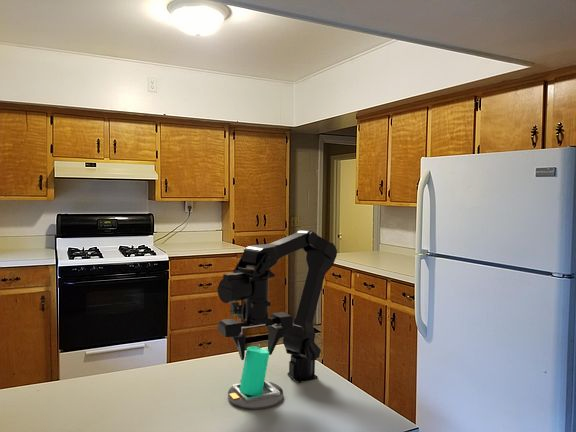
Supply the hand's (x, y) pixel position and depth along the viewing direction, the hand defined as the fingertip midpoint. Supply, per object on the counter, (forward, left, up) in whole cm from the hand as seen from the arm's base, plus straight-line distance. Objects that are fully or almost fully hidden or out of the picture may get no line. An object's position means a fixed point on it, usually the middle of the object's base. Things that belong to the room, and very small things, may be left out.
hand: (256, 357), depth 113 cm
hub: (0, 0, -10) cm, 10 cm away
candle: (+1, 0, -9) cm, 9 cm away
